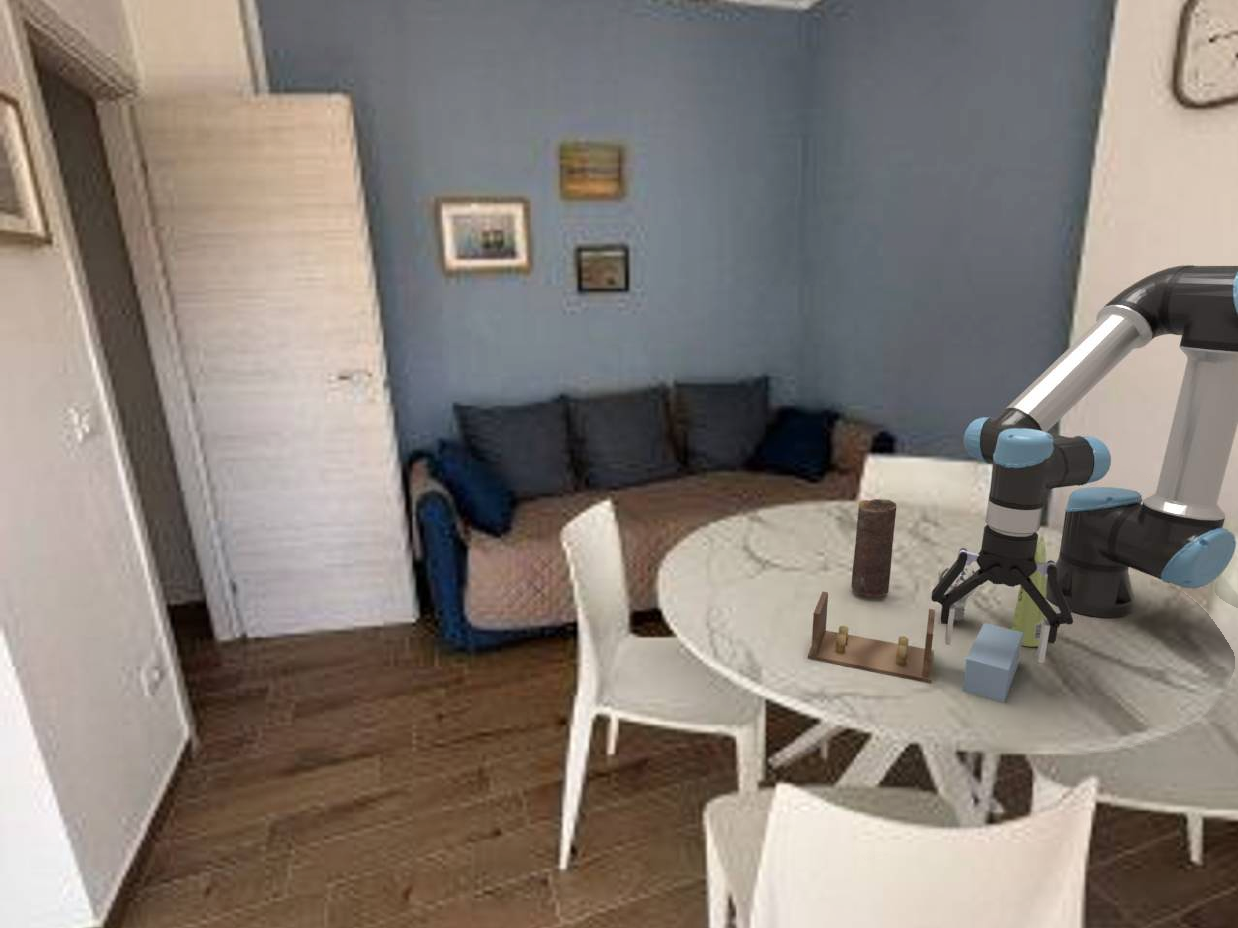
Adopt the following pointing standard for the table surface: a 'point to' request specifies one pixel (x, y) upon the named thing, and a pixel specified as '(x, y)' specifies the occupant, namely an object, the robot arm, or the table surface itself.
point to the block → (992, 662)
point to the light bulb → (961, 578)
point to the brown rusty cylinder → (873, 547)
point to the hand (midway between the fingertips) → (992, 649)
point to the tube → (1031, 604)
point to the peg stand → (871, 649)
